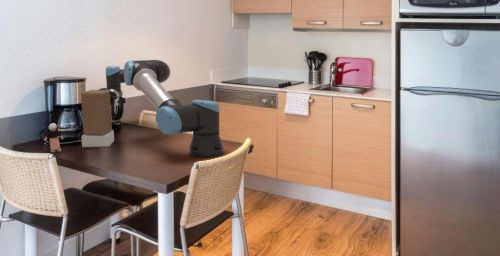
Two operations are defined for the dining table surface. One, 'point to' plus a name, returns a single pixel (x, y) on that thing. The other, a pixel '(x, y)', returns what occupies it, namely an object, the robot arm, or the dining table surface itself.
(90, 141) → the base brick
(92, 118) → the wooden block
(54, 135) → the grandmother figurine
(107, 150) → the dining table surface
